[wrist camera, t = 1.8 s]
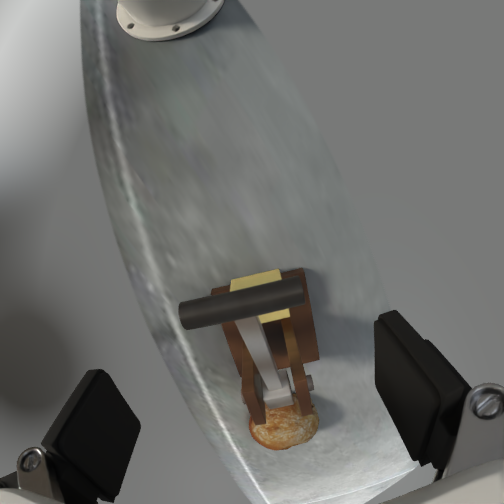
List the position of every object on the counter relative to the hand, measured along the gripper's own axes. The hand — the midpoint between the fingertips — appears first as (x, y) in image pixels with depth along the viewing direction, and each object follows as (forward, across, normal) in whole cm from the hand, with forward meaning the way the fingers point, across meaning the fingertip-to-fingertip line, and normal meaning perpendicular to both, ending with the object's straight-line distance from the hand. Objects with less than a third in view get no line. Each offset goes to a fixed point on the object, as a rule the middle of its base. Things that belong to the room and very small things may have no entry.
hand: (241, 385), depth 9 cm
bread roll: (+22, +2, +27) cm, 35 cm away
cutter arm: (+9, 0, +5) cm, 11 cm away
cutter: (+22, 0, +11) cm, 24 cm away
